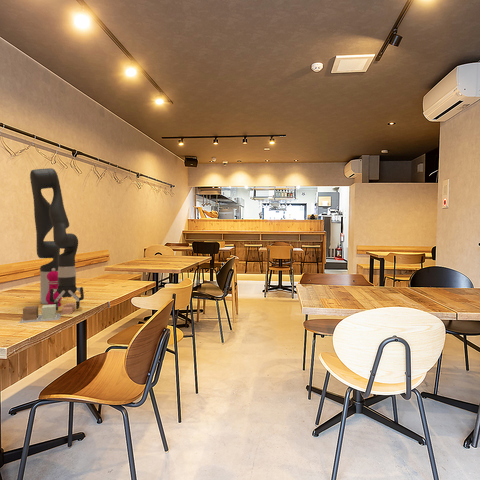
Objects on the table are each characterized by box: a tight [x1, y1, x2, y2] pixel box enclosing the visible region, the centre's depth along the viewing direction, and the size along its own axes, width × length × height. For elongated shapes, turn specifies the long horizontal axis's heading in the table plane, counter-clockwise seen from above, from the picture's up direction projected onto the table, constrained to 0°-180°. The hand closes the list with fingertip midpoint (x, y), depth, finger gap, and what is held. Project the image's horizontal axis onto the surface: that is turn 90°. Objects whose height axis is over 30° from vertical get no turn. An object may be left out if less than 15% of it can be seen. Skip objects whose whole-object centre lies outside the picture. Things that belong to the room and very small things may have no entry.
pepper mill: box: [46, 268, 63, 308], centre depth 173 cm, size 7×7×20 cm
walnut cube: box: [22, 305, 39, 321], centre depth 147 cm, size 5×5×5 cm
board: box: [18, 312, 63, 324], centre depth 149 cm, size 12×15×1 cm
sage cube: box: [41, 304, 57, 319], centre depth 150 cm, size 5×5×5 cm
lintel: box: [61, 302, 76, 315], centre depth 161 cm, size 12×4×4 cm, turn 18°
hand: (67, 309), depth 160 cm, fingers open, 8 cm apart
